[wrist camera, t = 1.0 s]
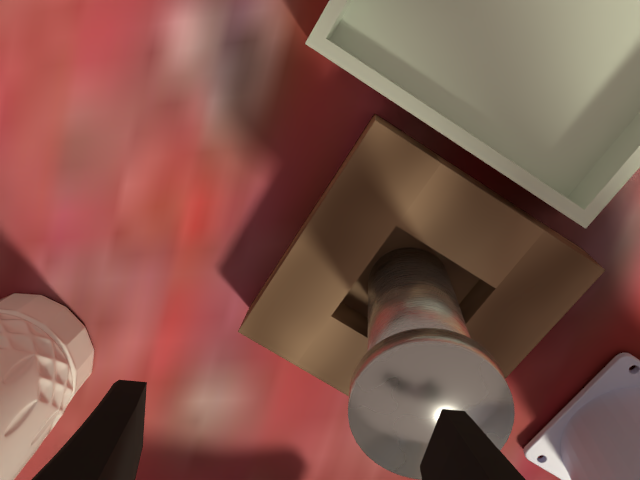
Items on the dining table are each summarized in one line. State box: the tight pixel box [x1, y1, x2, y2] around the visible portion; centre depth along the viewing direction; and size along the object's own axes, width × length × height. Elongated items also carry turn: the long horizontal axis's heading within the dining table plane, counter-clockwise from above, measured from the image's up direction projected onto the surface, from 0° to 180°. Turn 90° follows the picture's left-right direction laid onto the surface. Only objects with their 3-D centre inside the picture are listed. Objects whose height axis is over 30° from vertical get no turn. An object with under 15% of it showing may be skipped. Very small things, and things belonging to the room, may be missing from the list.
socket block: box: [238, 114, 605, 396], centre depth 25 cm, size 12×12×2 cm
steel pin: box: [348, 247, 514, 480], centre depth 21 cm, size 5×5×10 cm
